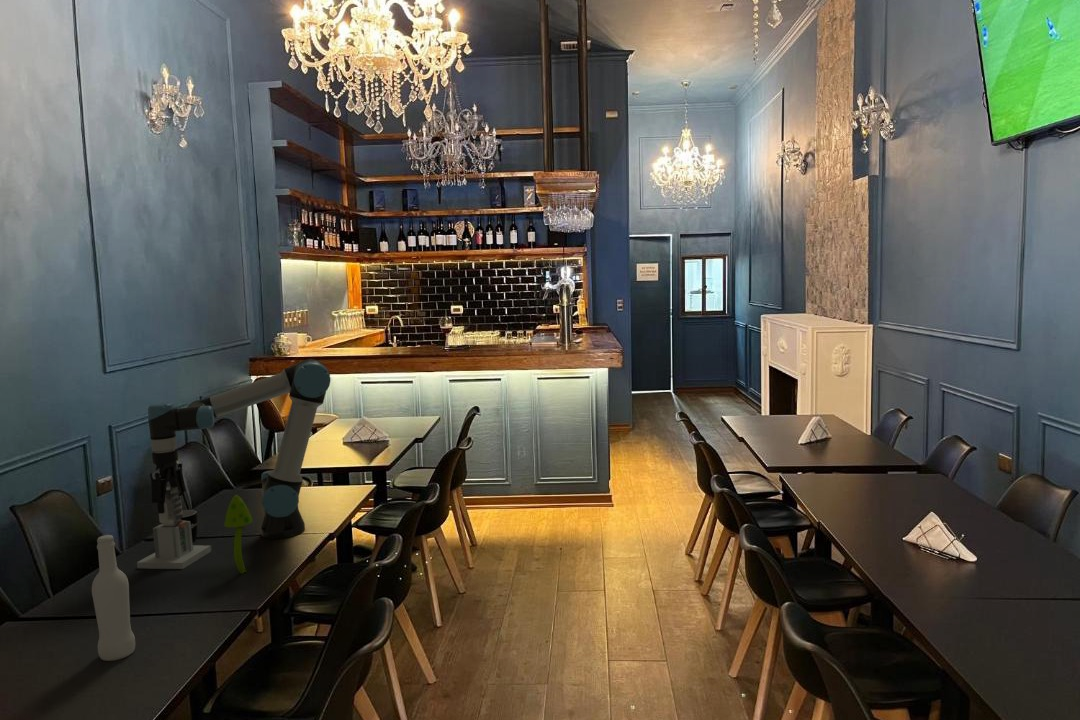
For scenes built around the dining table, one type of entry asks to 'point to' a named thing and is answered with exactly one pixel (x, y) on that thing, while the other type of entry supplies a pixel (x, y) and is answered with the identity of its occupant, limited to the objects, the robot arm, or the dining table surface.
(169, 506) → the column
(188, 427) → the robot arm
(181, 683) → the dining table surface
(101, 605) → the bottle
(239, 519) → the mushroom
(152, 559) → the stand base
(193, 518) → the mug
